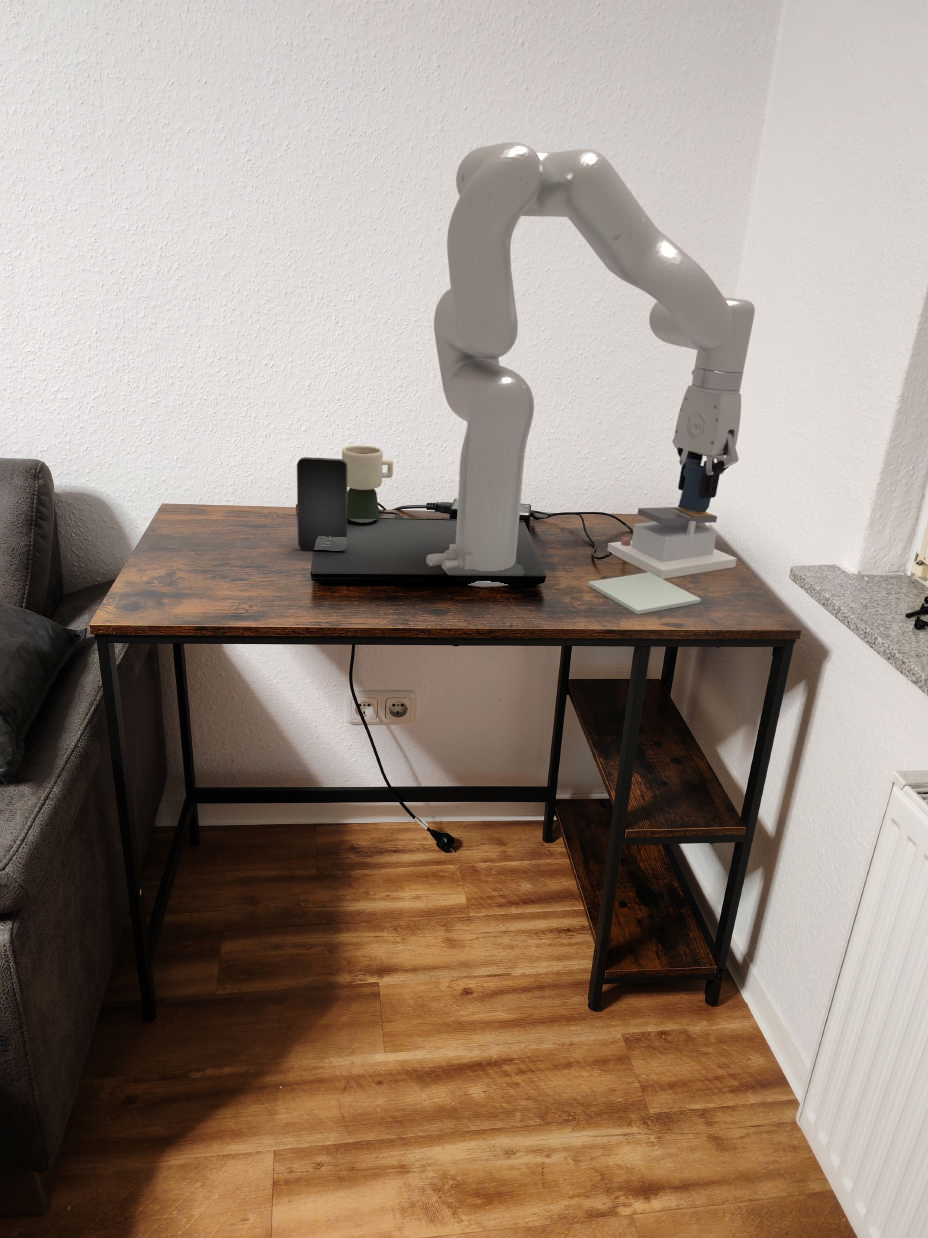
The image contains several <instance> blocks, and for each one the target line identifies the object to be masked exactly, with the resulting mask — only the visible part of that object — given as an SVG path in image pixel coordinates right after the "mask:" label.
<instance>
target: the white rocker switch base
mask: <svg viewBox="0 0 928 1238" xmlns="http://www.w3.org/2000/svg"><path fill="white" fill-rule="evenodd" d="M632 531H633V532H632V536H631V537H632V538H630V537H627V536H622V537H621V541H615V542H608V544H607V551H609V552H611V553H612V554H611V553H610V554H611V555H614V556H616V557H617V558H619V559H621V560H623V561H625V562H626V563H627V562H628V563H629V564H631V565H633V566H635V567H636V568H639V569H641V570H643V571H645V573H647V572H649V573H651V574H653V575H655V576H657V577H659V578H661V579H663V580H666V579H670V578H676V577H684V576H689V575H695V574H701V573H706V572H714V571H719V570H726V569H732V568H735V567H736V565H737V560H738V558H737V557H734V556H732V555H730V554H728V553H725V552H723V551H720V550H718V549H716V548H715V544H716V539H717V534H718V532H717V531H716V530H714V529H712V528H708V527H706V526H704V525H702V524H701V523H696V522H695V521H689V523H688V524H665V525H661V524H659V523H656V522H654V521H651V522H643V523H642V522H641V523H635V524H633V530H632ZM609 552H608V553H609Z"/></svg>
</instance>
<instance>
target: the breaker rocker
mask: <svg viewBox="0 0 928 1238" xmlns="http://www.w3.org/2000/svg"><path fill="white" fill-rule="evenodd" d="M637 515H639V516H641V517H642V518H645V519H647V520H650V521H651V522H656V523H659V524H661V525H665V524H688V523H689V521H695V522H696V523H697V524H705V523H706V524H707V523H717V519H718V516H717V515H715V514H712V513H710V512H707V511H706V512H698V511H693V510H687V509H683V508H679V507H678V506H670V507H668V506H665V507H664V506H663V507H642V508H641V507H638V510H637Z"/></svg>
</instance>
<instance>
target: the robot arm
mask: <svg viewBox="0 0 928 1238" xmlns="http://www.w3.org/2000/svg"><path fill="white" fill-rule="evenodd" d="M455 178H456V179H455V184H456V185H455V186H456V191H457V193H458V195H459V198H458V200H457V202H456V204H455V206H454V208H453V211H452V214H451V216H450V220H449V224H448V229H447V237H446V251H447V261H448V263H447V264H448V274H449V282H450V283H449V285H450V288H449V289H447V290H446V291H445V292H444V293H443V294H442V296H441V297H440V298H439V300H438V302H437V304H436V307H435V311H434V316H433V317H434V319H433V329H434V330H433V331H434V340H435V346H436V352H437V360H438V365H439V370H440V377H441V383H442V389H443V393H444V396H445V400H446V402H447V405H448V406H449V408H450V410H451V412H453V413H454V414H455V415H456V416H457V417H459V418H460V420H462V421H465V422H467V425H466V431H465V435H464V439H463V443H462V447H461V452H460V460H459V471H458V472H459V473H458V474H459V475H458V476H459V480H458V495H457V496H458V497H457V510H456V511H457V516H456V531H455V532H456V533H455V543H450V544H449V547H448V548H449V549H448V550H445V551H444V553H443V552H442V553H431V554H427V555H426V557H425V558H426V560H425V561H426V565H427V564H429V565H430V566H434V567H436V566H435V565H441V564H442V565H441V569H442V568H443V569H444V570H447V569H452V568H464V569H465V570H467V569H475V570H479V571H498V570H504V569H507V568H510V567H512V566H513V565H514V564H515V561H516V559H517V550H518V549H517V548H518V547H517V546H518V536H519V535H518V534H519V523H520V522H519V521H520V511H521V502H522V501H521V500H522V491H523V490H522V488H523V474H524V466H525V465H524V464H525V457H526V456H525V455H526V448H527V443H528V439H529V435H530V430H531V427H532V423H533V418H534V414H535V413H534V412H535V400H534V396H533V392H532V389H531V387H530V385H529V384H528V382H527V381H526V380H525V378H524V377H522V376H521V374H520V373H517V372H516V371H514V370H512V369H511V368H508V367H506V366H503V365H501V364H500V360H499V359H500V357H503V356H505V355H507V354H508V353H509V352H510V351H511V350H512V348H513V347H514V345H515V343H516V340H517V338H518V331H519V327H518V326H519V325H518V324H519V323H518V314H517V307H516V306H517V305H516V299H515V291H514V281H513V273H512V259H511V245H512V244H511V243H512V238H513V234H514V231H515V228H516V226H517V224H518V222H519V219H521V217H550V218H551V217H553V218H555V217H556V218H557V217H558V218H559V217H560V218H561V217H563V218H567V219H568V220H569V221H570V222H571V223H572V224H573V226H574V227H575V228H576V230H577V231H578V232H579V234H581V236H582V237H583V239H584V240H585V242H587V244H588V245H589V246H590V248H591V249H592V250H593V252H594V253H595V254H596V256H597V257H598V258H599V259H600V261H601V262H602V263H603V265H604V266H605V268H607V270H608V271H610V273H612V274H613V275H615V276H616V277H617V278H618V279H620V280H621V281H624V282H625V283H627V284H629V285H631V286H633V287H635V288H637V289H639V290H640V291H642V292H644V293H646V294H648V295H649V296H650V297H651V298H653V299H654V300H656V302H655V303H654V305H653V306H652V307H651V310H650V312H649V316H648V317H649V318H648V319H649V323H648V324H649V326H650V330H651V332H652V333H653V335H654V336H655V337H656V338H657V339H659V340H660V341H662V342H664V343H666V344H668V345H674V346H678V347H681V348H687V349H690V350H695V351H696V357H695V363H694V368H693V369H692V371H691V376H692V379H691V380H692V381H691V385H688V386H687V389H686V391H685V393H684V396H683V398H682V402H681V404H680V407H679V412H678V415H677V421H676V425H675V430H674V436H673V439H672V444H673V446H674V447H675V449H676V451H677V455H678V456H679V466H681V469H680V475H679V480H678V485H677V489H678V490H679V491H682V489H683V485H684V481H685V476H684V475H683V474H684V470H685V466H686V463H687V458H688V454H689V451H691V452H694V453H697V454H700V455H703V457H706V460H705V461H706V473H707V474H703V476H702V481H701V487H700V492H699V497H700V498H702V499H704V498H711V499H712V498H715V497H717V496H716V495H717V491H718V486H719V480H720V476H721V475H723V474H724V473H725V471H726V470H727V469H729V467H731V466H733V465H734V464H737V463H738V462H739V455H738V453H737V452H738V451H737V449H736V448H737V442H738V436H739V432H740V425H741V411H742V393H740V392H741V388H742V382H743V375H744V369H745V364H746V360H747V355H748V350H749V345H750V340H751V335H752V331H753V330H752V329H753V324H754V318H755V313H756V309H755V305H754V303H753V302H752V301H751V300H748V299H747V300H746V299H742V298H741V299H740V298H732V297H725V296H724V295H723V294H722V292H721V290H720V288H718V285H716V283H715V282H714V280H713V279H712V278H711V276H709V274H708V273H707V271H706V270H704V268H703V267H702V266H701V265H700V264H699V263H698V262H697V261H695V260H694V258H692V257H691V256H690V255H689V254H688V253H686V252H685V251H684V250H683V249H682V248H680V247H679V246H678V245H677V244H676V243H675V242H674V241H673V240H672V239H671V238H669V237H668V236H667V235H666V234H664V233H663V232H662V231H661V230H660V229H659V228H658V227H657V226H656V225H655V223H654V222H653V220H651V218H650V217H649V215H648V213H646V211H645V210H644V208H643V207H642V206H641V204H640V203H639V201H638V200H637V198H636V197H635V195H634V194H633V193H632V191H631V190H630V189H629V187H628V186H627V185H626V183H625V182H624V180H623V179H622V177H621V176H620V174H619V173H618V172H617V170H616V169H615V168H614V166H613V164H612V163H610V161H609V160H608V159H607V158H606V156H604V155H603V154H601V153H600V152H599V151H596V150H595V149H594V150H593V149H587V148H582V149H573V150H564V151H550V152H549V151H543V152H542V151H536V150H534V149H533V148H532V147H531V146H529V145H528V144H524V143H521V142H517V141H515V142H514V141H513V142H510V141H509V142H503V143H497V144H492V145H486V146H481V147H477V148H475V149H473V150H472V151H470V152H469V153H468V154H466V155H465V156H464V158H463V159H462V160H461V162H460V164H459V166H458V169H457V171H456V177H455ZM715 459H716V464H714V462H715ZM443 569H442V570H443ZM444 570H443V571H444ZM468 586H471V587H479V588H487V587H503V586H509V585H508V584H504V583H500V582H491V581H476V582H474V583H471V584H468Z"/></svg>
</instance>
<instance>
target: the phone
mask: <svg viewBox="0 0 928 1238" xmlns="http://www.w3.org/2000/svg"><path fill="white" fill-rule="evenodd" d="M347 476H348V466H347V463H346V462H345V461H344V460H343V459H342V458H331V457H330V458H327V457H325V458H324V457H307V456H306V457H305V456H304V457H300V458H299V459H298V461H297V463H296V497H297V498H296V501H297V502H296V503H297V519H296V520H297V523H296V524H297V544H298V547H299V548H300V549H301V550H303V551H313V550H314V547H315V543H316V540H317V538H318V536H326V537H329V536H331V537H346V538H347V539H348V520H347V492H348V487H347Z"/></svg>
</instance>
